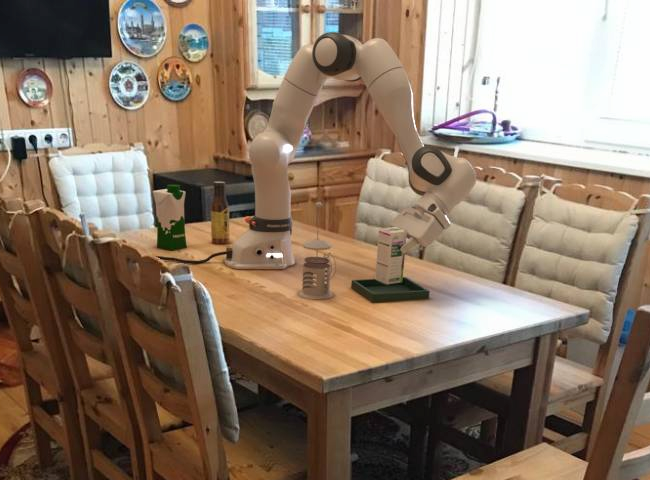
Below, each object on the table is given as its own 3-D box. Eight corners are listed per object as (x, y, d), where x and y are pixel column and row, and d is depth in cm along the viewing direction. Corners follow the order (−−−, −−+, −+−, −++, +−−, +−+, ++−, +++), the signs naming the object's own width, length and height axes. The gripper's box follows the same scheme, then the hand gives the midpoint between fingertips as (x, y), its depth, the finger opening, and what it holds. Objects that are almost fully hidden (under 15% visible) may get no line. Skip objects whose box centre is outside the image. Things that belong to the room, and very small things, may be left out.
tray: (372, 303, 226) (373, 294, 225) (351, 288, 239) (351, 280, 238) (428, 299, 232) (429, 290, 231) (405, 284, 245) (405, 276, 244)
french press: (316, 287, 238) (319, 197, 225) (344, 296, 231) (349, 204, 218) (291, 293, 232) (293, 201, 219) (319, 302, 224) (323, 207, 212)
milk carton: (171, 251, 270) (168, 187, 260) (152, 247, 274) (148, 183, 264) (190, 247, 276) (188, 184, 266) (171, 243, 280) (168, 181, 270)
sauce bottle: (228, 245, 281) (227, 184, 272) (210, 244, 281) (208, 183, 271) (230, 241, 287) (229, 181, 277) (213, 240, 287) (211, 180, 277)
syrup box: (387, 285, 229) (392, 232, 222) (374, 279, 233) (378, 227, 226) (402, 282, 232) (408, 230, 225) (389, 277, 236) (394, 225, 229)
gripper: (407, 196, 234) (373, 232, 235) (440, 209, 217) (404, 248, 219) (419, 212, 237) (386, 247, 239) (453, 226, 221) (417, 264, 222)
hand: (395, 248), depth 229 cm, fingers closed on syrup box, 6 cm apart
